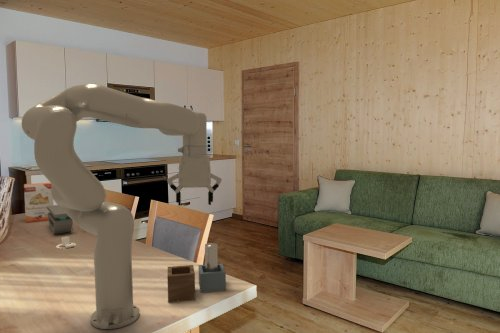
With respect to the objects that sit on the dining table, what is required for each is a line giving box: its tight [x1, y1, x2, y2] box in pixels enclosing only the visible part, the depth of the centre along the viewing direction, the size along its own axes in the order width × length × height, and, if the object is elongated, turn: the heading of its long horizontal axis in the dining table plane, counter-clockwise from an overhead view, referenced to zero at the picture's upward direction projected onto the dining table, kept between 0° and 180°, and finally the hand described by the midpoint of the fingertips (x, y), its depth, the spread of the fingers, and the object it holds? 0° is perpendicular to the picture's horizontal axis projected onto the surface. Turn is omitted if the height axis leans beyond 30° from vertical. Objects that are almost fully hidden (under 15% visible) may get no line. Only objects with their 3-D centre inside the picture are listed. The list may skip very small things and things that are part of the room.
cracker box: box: [23, 182, 54, 223], centre depth 213 cm, size 14×6×21 cm, turn 119°
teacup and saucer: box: [55, 236, 77, 249], centre depth 167 cm, size 9×8×4 cm
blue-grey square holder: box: [198, 263, 227, 293], centre depth 124 cm, size 8×8×6 cm
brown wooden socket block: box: [167, 264, 196, 303], centre depth 117 cm, size 8×8×8 cm
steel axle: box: [204, 242, 219, 272], centre depth 124 cm, size 4×4×14 cm
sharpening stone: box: [47, 204, 74, 235], centre depth 192 cm, size 25×8×11 cm, turn 35°
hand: (194, 204), depth 123 cm, fingers open, 9 cm apart
